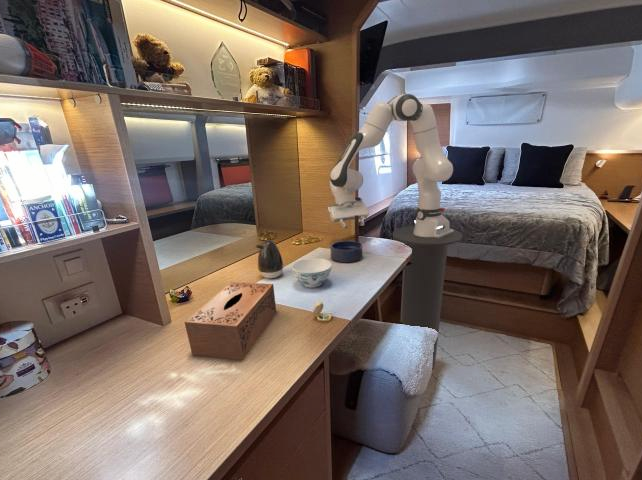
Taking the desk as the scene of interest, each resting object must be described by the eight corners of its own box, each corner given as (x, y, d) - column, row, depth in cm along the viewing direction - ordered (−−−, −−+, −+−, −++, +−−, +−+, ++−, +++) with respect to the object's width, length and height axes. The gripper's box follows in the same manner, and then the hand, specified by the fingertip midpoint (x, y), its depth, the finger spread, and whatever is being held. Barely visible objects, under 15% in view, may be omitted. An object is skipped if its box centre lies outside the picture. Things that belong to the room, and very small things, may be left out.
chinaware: (339, 286, 127) (339, 267, 124) (303, 295, 120) (301, 275, 117) (321, 273, 139) (320, 255, 136) (287, 281, 133) (285, 263, 130)
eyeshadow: (325, 323, 102) (324, 308, 100) (312, 318, 105) (311, 304, 103) (333, 317, 105) (333, 303, 104) (321, 313, 108) (320, 299, 106)
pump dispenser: (254, 276, 139) (249, 240, 133) (275, 269, 145) (272, 235, 139) (267, 283, 132) (262, 246, 126) (289, 276, 138) (285, 240, 132)
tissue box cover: (235, 309, 113) (231, 281, 109) (276, 312, 110) (273, 283, 106) (192, 354, 90) (184, 322, 86) (242, 359, 87) (236, 326, 83)
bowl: (350, 250, 165) (350, 238, 162) (368, 258, 153) (368, 246, 151) (325, 256, 158) (324, 244, 156) (342, 265, 147) (341, 252, 144)
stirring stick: (357, 245, 171) (357, 214, 165) (361, 247, 169) (361, 215, 163) (352, 247, 170) (352, 215, 164) (356, 248, 167) (355, 216, 161)
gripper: (328, 201, 166) (336, 225, 161) (364, 197, 173) (374, 220, 169) (324, 209, 171) (333, 232, 167) (360, 204, 179) (369, 227, 174)
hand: (354, 226), depth 168 cm, fingers open, 8 cm apart
